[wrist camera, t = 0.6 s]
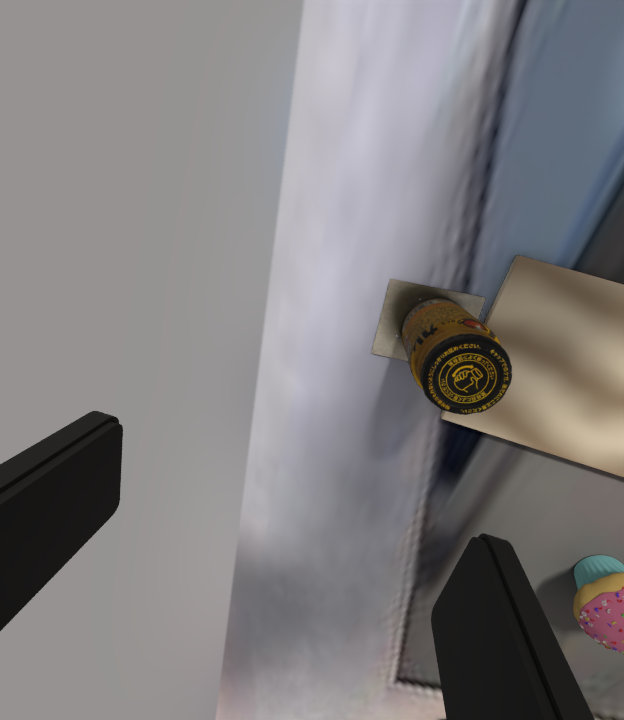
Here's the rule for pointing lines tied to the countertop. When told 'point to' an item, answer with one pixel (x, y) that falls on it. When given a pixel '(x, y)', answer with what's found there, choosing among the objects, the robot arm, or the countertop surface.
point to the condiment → (444, 346)
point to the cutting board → (559, 365)
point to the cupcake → (601, 600)
